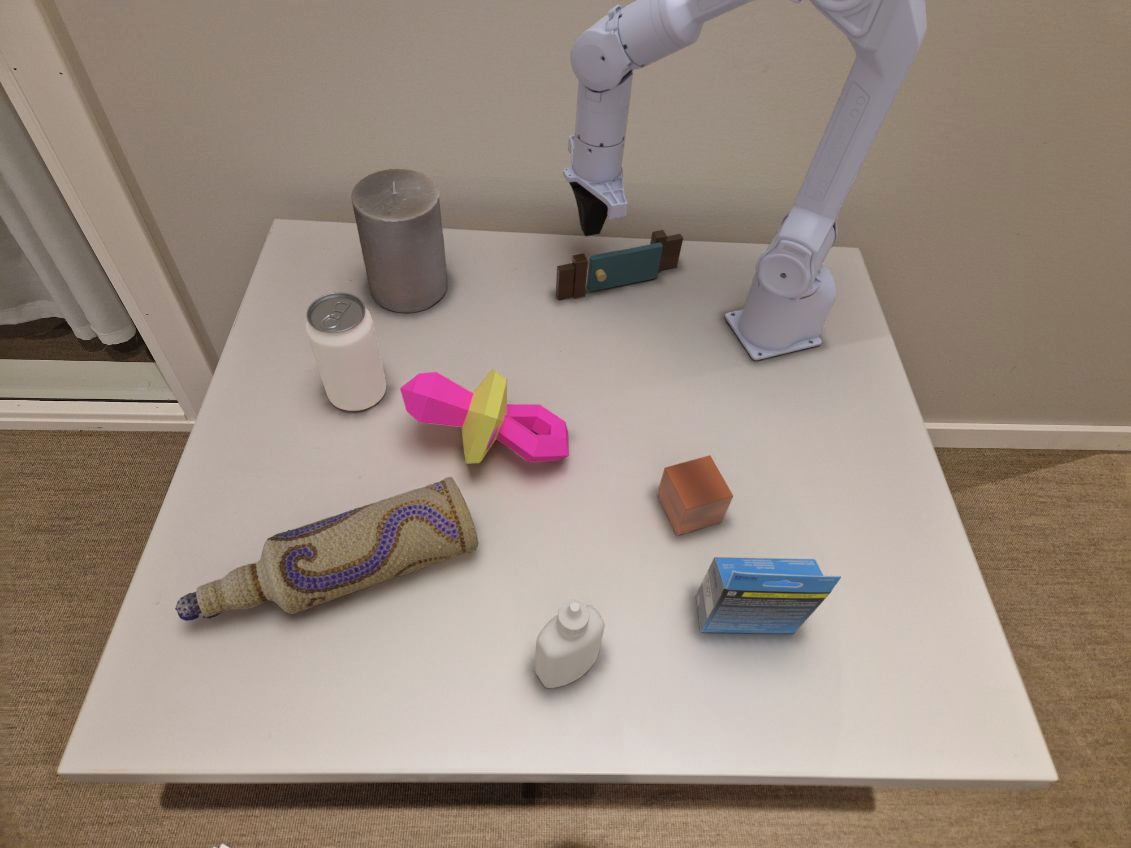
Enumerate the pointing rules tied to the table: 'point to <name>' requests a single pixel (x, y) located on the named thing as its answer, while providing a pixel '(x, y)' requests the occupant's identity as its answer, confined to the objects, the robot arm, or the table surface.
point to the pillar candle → (401, 238)
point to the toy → (487, 417)
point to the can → (346, 351)
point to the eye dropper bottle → (568, 644)
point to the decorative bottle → (344, 553)
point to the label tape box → (760, 594)
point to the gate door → (623, 266)
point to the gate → (575, 273)
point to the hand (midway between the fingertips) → (590, 231)
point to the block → (694, 495)
